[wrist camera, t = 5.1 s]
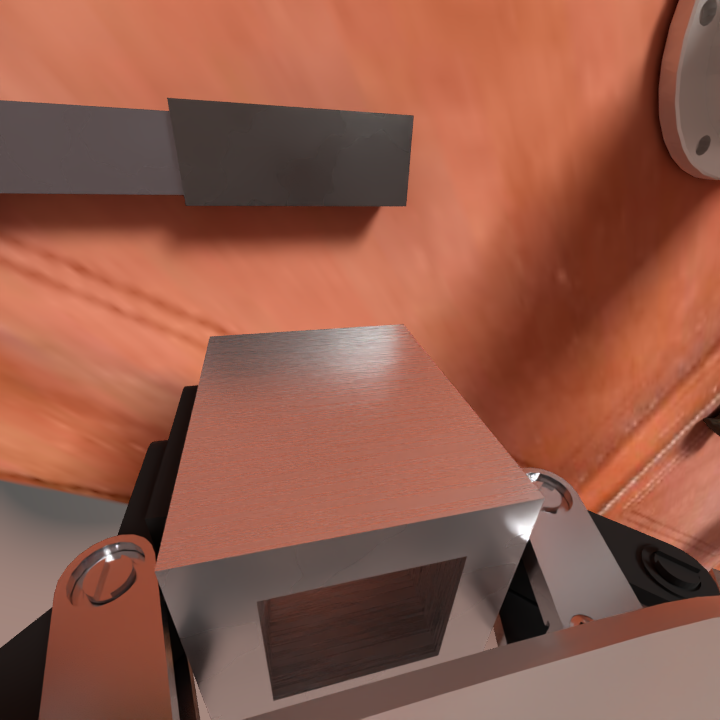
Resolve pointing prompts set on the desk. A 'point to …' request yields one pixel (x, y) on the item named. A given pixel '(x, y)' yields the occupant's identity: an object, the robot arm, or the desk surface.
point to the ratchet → (208, 153)
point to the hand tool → (713, 424)
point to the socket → (334, 518)
